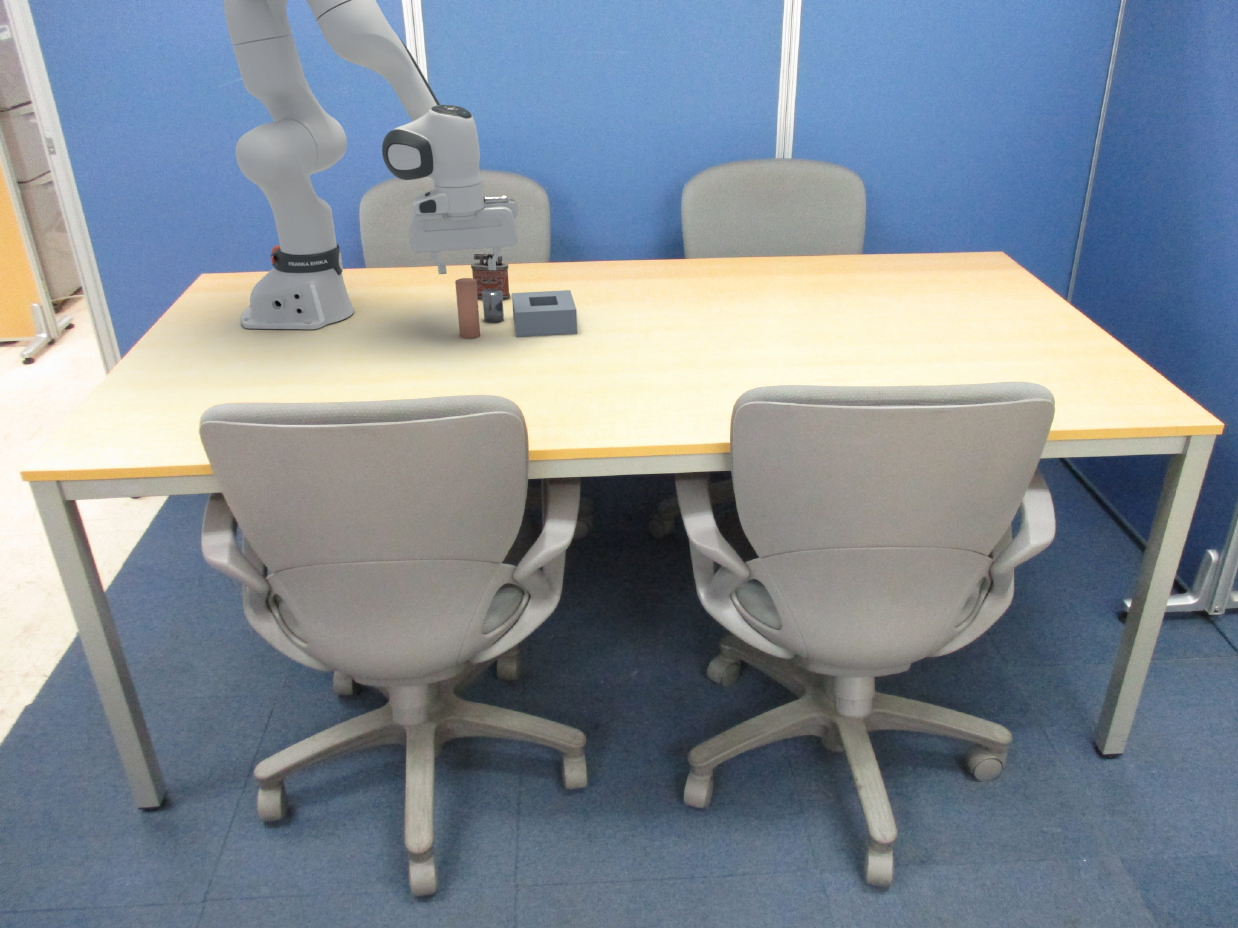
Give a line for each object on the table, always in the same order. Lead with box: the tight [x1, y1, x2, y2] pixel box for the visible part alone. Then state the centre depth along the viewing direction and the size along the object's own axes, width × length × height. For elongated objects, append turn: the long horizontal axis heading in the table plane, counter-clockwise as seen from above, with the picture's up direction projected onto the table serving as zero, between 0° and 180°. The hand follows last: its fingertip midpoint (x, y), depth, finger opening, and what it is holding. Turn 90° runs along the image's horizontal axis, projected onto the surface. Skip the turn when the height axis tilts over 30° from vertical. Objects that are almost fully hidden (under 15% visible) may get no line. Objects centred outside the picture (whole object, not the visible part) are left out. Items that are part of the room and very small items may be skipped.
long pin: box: [454, 277, 481, 340], centre depth 193 cm, size 4×4×11 cm
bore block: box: [511, 289, 578, 338], centre depth 199 cm, size 12×12×5 cm
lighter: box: [470, 251, 511, 301], centre depth 213 cm, size 8×3×10 cm, turn 84°
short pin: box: [482, 289, 505, 324], centre depth 201 cm, size 4×4×6 cm
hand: (467, 271), depth 189 cm, fingers open, 8 cm apart
